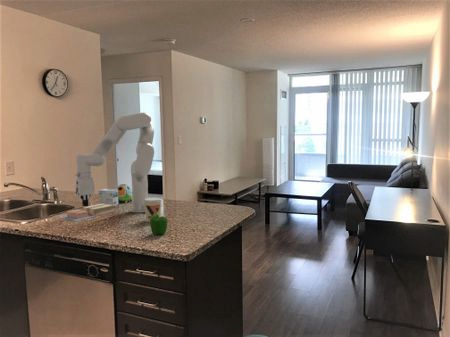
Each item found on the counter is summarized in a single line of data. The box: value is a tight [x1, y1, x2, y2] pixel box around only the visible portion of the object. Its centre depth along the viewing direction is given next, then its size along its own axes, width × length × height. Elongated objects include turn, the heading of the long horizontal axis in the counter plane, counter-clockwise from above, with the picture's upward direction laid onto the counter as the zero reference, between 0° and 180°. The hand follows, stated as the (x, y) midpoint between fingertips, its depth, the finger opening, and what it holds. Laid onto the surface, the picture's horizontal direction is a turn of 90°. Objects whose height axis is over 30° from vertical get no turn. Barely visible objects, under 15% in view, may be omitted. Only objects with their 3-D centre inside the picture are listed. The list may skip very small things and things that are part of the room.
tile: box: [66, 208, 88, 219], centre depth 223 cm, size 10×7×3 cm
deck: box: [81, 203, 115, 217], centre depth 235 cm, size 12×14×4 cm
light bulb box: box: [98, 188, 119, 207], centre depth 257 cm, size 11×7×11 cm, turn 76°
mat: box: [58, 215, 96, 222], centre depth 223 cm, size 16×13×1 cm
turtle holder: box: [115, 183, 132, 204], centre depth 273 cm, size 12×18×12 cm
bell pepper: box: [149, 214, 168, 236], centre depth 187 cm, size 8×8×10 cm
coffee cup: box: [144, 197, 162, 223], centre depth 214 cm, size 9×9×12 cm
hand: (85, 206), depth 227 cm, fingers closed
